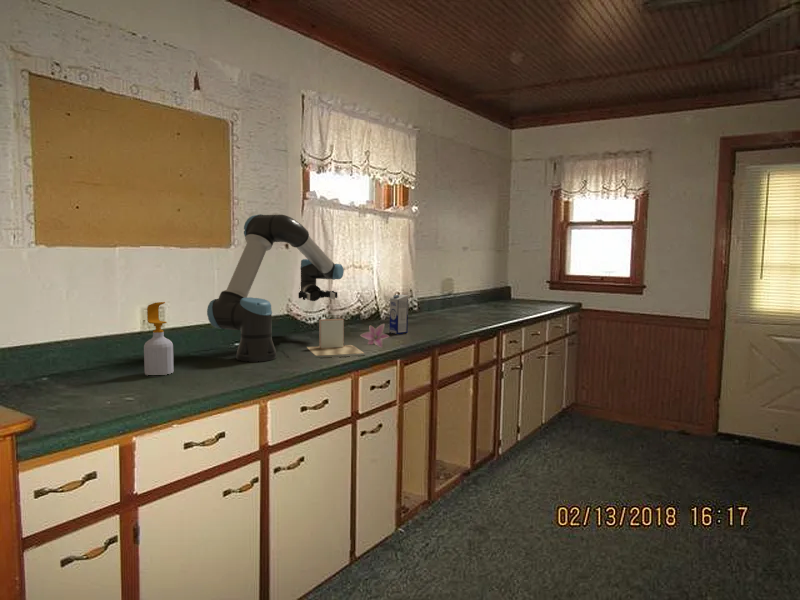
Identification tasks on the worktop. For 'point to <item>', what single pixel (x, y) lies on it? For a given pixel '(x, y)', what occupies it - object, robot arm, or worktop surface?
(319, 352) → the board
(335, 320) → the tile
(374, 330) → the lily
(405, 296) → the milk carton
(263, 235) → the robot arm
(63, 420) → the worktop surface
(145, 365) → the soap bottle
